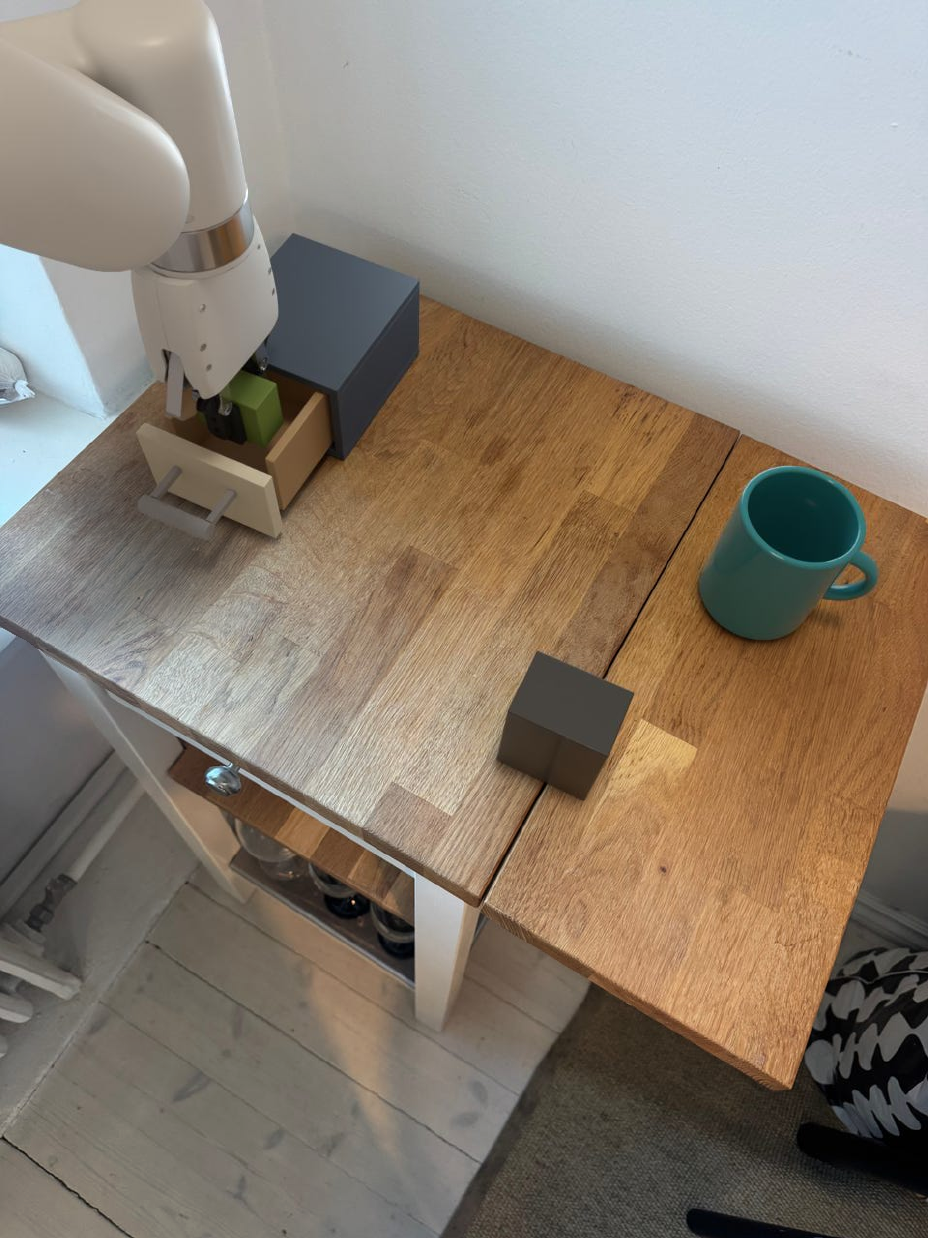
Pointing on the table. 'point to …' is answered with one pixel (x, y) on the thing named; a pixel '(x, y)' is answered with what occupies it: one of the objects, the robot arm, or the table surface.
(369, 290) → the cabinet
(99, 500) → the table surface
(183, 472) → the drawer
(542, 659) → the dark gray block
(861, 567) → the cup
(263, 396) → the olive green block
